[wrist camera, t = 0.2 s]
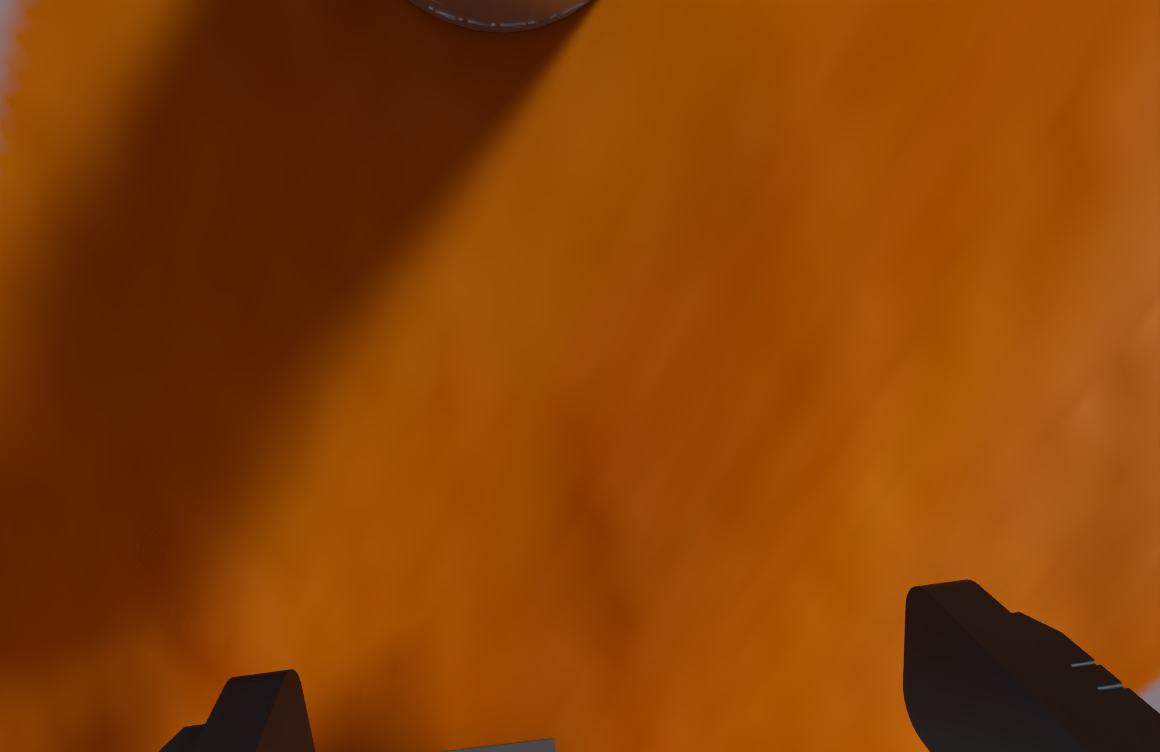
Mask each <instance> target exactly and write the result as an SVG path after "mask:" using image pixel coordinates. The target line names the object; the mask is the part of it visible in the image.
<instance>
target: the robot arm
mask: <svg viewBox="0 0 1160 752" xmlns="http://www.w3.org/2000/svg"><path fill="white" fill-rule="evenodd" d="M409 1H410V2H411V3H412V4H414V5H416V6H417V7H419V8H421V9H423V10H425V11H426V12H428V13H430V14H432V15H433V16H435V17H437V18H439V19H441V20H442V21H446V22H449V23H452V24H455V25H459V26H462V27H465V28H468V29H472V30H476V31H489V32H502V33H509V32H516V31H522V30H529V29H535V28H540V27H542V26H545V25H547V24H550V23H552V22H555V21H557V20H560V19H562V18H565V17H567V16H569V15H571V14H572V13H573V12H575V11H576V10H578V9H579V8H581V7H582V6H584V5H585V4H586V3H588V2H589V1H591V0H409ZM903 692H904V699H905V704H906V708H907V711H908V715H909V717H910V720H911V722H912V725H913V727H914V729H915V731H916V733H917V734H918V736H919V737H920V739H921V740H922V742H923V743H924V744H925V746H926V747H927V748H928V750H929V751H930V752H1160V714H1159V713H1158V712H1157V711H1156V710H1155V709H1153V708H1152V707H1151V706H1150V705H1149V704H1147V703H1146V702H1145V701H1144V700H1143V699H1141V698H1140V697H1139V696H1138V695H1137V694H1135V693H1134V692H1133V691H1132V690H1131V689H1129V688H1125V689H1124V688H1123V686H1122V683H1121V681H1120V680H1118V679H1117V678H1116V677H1115V676H1114V675H1112V674H1111V673H1110V672H1109V671H1108V670H1106V669H1105V668H1104V667H1103V666H1102V665H1096V664H1095V662H1094V659H1093V658H1092V657H1091V656H1089V655H1088V654H1087V653H1086V652H1085V651H1083V650H1082V649H1081V648H1080V647H1079V646H1077V645H1076V644H1075V643H1074V642H1073V641H1071V640H1070V639H1069V638H1068V637H1066V636H1065V635H1064V634H1063V633H1062V632H1059V631H1057V630H1055V629H1053V628H1051V627H1049V626H1047V625H1045V624H1043V623H1041V622H1039V621H1037V620H1035V619H1033V618H1031V617H1029V616H1027V615H1024V614H1022V613H1020V612H1016V613H1010V612H1009V611H1008V610H1007V609H1006V608H1005V607H1004V606H1002V605H1001V604H1000V603H999V602H998V601H997V600H996V599H994V598H993V597H992V596H991V595H990V594H989V593H988V592H986V591H985V590H984V589H983V588H982V587H981V586H979V585H978V584H977V583H976V582H974V581H972V580H960V581H953V582H945V583H938V584H930V585H923V586H916V587H913V588H911V589H910V591H909V592H908V595H907V599H906V610H905V640H904V669H903ZM159 752H315V748H314V743H313V739H312V734H311V729H310V724H309V719H308V714H307V710H306V705H305V700H304V695H303V690H302V686H301V682H300V679H299V676H298V674H297V673H296V671H295V670H293V669H291V670H283V671H276V672H269V673H261V674H254V675H246V676H239V677H232V678H231V679H229V680H228V681H227V683H226V685H225V686H224V688H223V690H222V692H221V694H220V696H219V698H218V700H217V702H216V704H215V706H214V708H213V710H212V712H211V714H210V716H209V718H208V720H207V722H206V724H202V725H195V726H188V727H184V728H183V729H182V730H181V731H180V732H179V733H178V734H177V735H176V736H174V737H173V738H172V739H171V740H170V741H169V742H168V743H167V744H166V745H165V746H164V747H163V748H162V749H161V750H160V751H159Z"/></svg>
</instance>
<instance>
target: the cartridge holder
mask: <svg viewBox="0 0 1160 752" xmlns="http://www.w3.org/2000/svg"><path fill="white" fill-rule="evenodd" d="M445 752H555V744H554V739H546V740H538V741H529V742H521V743H512V744H504V745H496V746H487V747H479V748H470V749H462V750H453V751H445Z"/></svg>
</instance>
